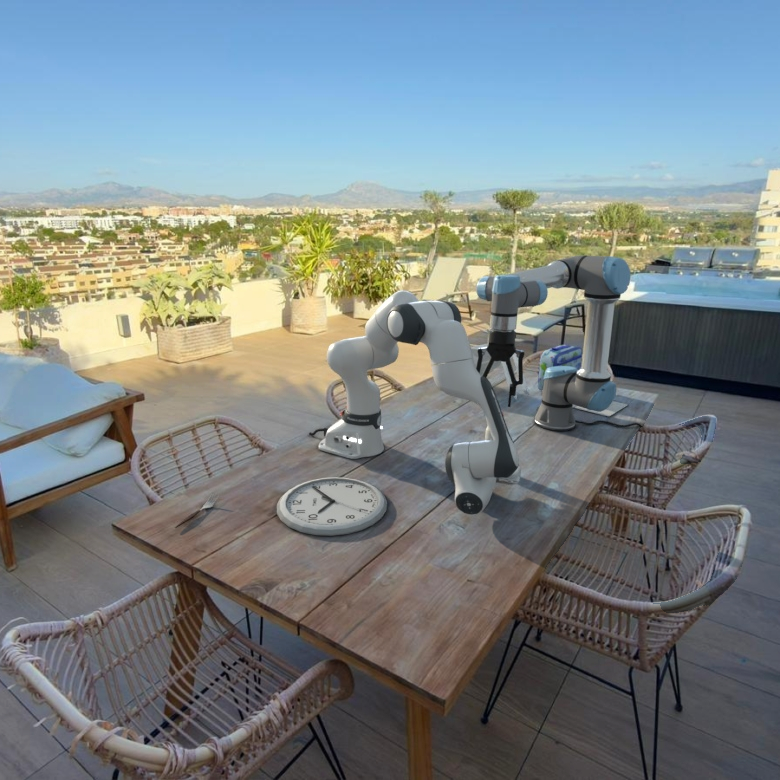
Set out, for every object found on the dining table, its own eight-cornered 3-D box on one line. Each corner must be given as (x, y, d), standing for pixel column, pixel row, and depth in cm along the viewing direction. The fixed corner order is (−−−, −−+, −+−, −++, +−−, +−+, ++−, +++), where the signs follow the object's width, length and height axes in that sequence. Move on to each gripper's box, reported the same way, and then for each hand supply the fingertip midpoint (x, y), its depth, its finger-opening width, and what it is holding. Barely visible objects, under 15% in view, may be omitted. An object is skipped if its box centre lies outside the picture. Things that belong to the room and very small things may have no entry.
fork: (171, 528, 130) (170, 521, 130) (212, 499, 145) (211, 492, 144) (179, 530, 129) (178, 523, 129) (220, 500, 144) (219, 494, 143)
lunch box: (554, 397, 237) (559, 352, 231) (533, 392, 244) (538, 348, 238) (581, 386, 255) (586, 344, 248) (560, 381, 262) (565, 340, 256)
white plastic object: (461, 429, 252) (437, 405, 227) (444, 352, 274) (420, 323, 250) (535, 404, 240) (518, 377, 215) (510, 326, 262) (492, 293, 237)
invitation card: (608, 416, 214) (573, 407, 224) (608, 416, 214) (573, 408, 224) (628, 404, 229) (594, 396, 238) (628, 405, 229) (594, 397, 238)
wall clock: (392, 527, 129) (268, 531, 127) (391, 533, 130) (269, 537, 127) (383, 473, 158) (282, 475, 155) (383, 478, 158) (282, 480, 156)
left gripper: (519, 473, 142) (525, 454, 154) (446, 461, 148) (457, 443, 161) (517, 494, 144) (523, 473, 156) (445, 481, 150) (456, 462, 163)
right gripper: (537, 329, 153) (530, 403, 160) (469, 325, 158) (465, 397, 164) (538, 334, 146) (530, 411, 153) (467, 329, 151) (462, 405, 157)
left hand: (489, 458), depth 158 cm, fingers open, 8 cm apart
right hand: (496, 404), depth 159 cm, fingers open, 7 cm apart
